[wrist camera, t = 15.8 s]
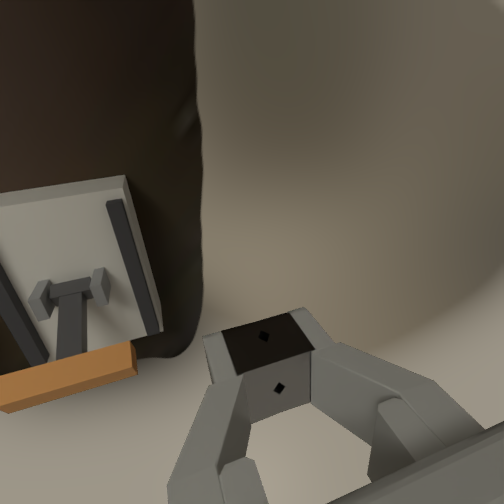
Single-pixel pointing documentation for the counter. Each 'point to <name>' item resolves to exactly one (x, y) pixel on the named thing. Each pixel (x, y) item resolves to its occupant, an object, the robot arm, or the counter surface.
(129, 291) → the box
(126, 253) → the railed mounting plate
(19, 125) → the counter surface
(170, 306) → the counter surface
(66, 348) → the lever
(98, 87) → the counter surface
